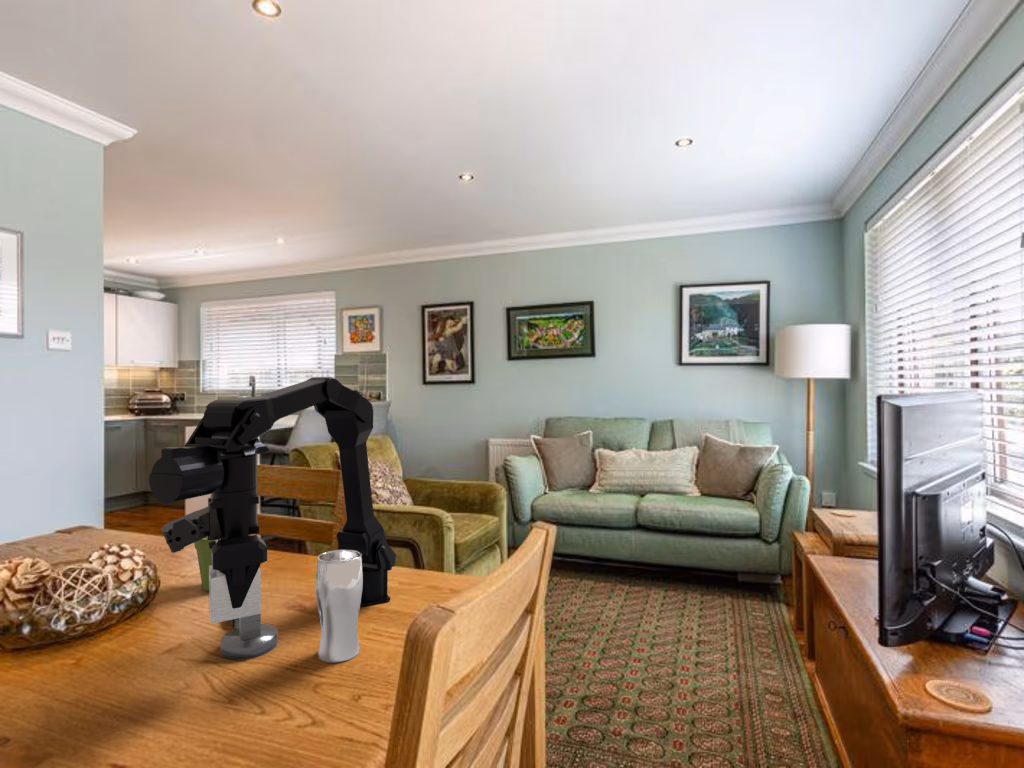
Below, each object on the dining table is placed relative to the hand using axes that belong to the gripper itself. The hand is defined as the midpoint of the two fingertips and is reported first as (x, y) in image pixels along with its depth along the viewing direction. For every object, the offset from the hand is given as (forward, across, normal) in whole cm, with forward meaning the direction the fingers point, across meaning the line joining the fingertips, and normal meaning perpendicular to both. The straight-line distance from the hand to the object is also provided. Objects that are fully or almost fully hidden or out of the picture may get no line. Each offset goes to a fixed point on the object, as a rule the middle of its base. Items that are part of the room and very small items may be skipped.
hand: (234, 599), depth 76 cm
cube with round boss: (+2, 0, 0) cm, 2 cm away
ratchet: (+11, -14, +3) cm, 18 cm away
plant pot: (+12, -42, +1) cm, 44 cm away
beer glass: (+11, 0, +14) cm, 18 cm away
